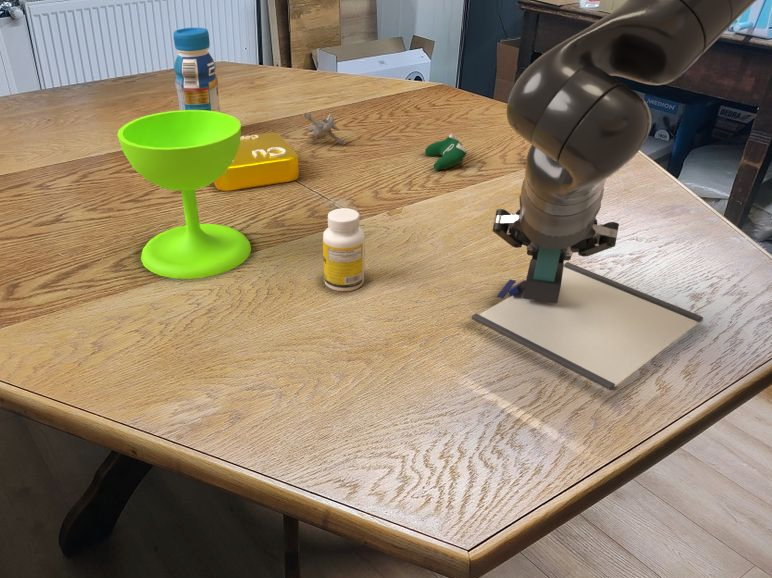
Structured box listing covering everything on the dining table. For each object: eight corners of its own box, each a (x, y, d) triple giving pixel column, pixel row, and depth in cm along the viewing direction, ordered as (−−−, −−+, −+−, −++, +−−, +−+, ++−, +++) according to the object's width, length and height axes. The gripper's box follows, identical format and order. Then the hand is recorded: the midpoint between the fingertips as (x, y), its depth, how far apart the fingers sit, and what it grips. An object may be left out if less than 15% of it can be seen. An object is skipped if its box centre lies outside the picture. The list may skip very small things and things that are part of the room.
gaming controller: (446, 181, 123) (472, 157, 121) (433, 167, 121) (459, 142, 119) (435, 162, 130) (459, 140, 128) (422, 149, 129) (446, 126, 126)
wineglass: (273, 249, 99) (266, 125, 89) (185, 291, 90) (165, 159, 80) (205, 218, 109) (191, 103, 98) (119, 253, 100) (93, 130, 89)
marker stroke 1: (514, 288, 89) (508, 287, 89) (515, 280, 88) (509, 279, 88) (501, 306, 85) (495, 304, 86) (502, 298, 85) (496, 296, 85)
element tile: (278, 153, 132) (277, 128, 129) (302, 180, 120) (301, 154, 117) (202, 163, 128) (199, 138, 126) (218, 193, 117) (215, 166, 114)
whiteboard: (565, 272, 92) (567, 261, 91) (699, 328, 80) (703, 316, 79) (470, 326, 82) (471, 315, 81) (607, 399, 70) (611, 387, 69)
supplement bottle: (332, 269, 94) (331, 203, 88) (369, 276, 92) (371, 208, 87) (317, 288, 90) (316, 220, 84) (356, 295, 88) (357, 226, 83)
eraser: (557, 303, 82) (570, 242, 77) (522, 298, 83) (533, 238, 78) (560, 280, 86) (572, 222, 82) (527, 276, 88) (538, 218, 83)
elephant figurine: (340, 133, 141) (356, 130, 132) (325, 158, 141) (340, 156, 133) (301, 104, 137) (316, 98, 129) (286, 129, 137) (299, 126, 129)
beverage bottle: (174, 134, 143) (159, 31, 131) (207, 125, 147) (196, 24, 135) (197, 144, 137) (184, 37, 126) (231, 134, 142) (221, 29, 130)
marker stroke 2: (519, 289, 89) (516, 284, 89) (527, 285, 88) (524, 279, 88) (510, 296, 84) (507, 290, 84) (519, 292, 84) (516, 286, 84)
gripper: (642, 171, 66) (614, 232, 83) (496, 157, 71) (497, 218, 87) (628, 244, 65) (603, 291, 82) (481, 226, 70) (485, 274, 86)
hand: (548, 253), depth 84 cm, fingers closed on eraser, 2 cm apart
